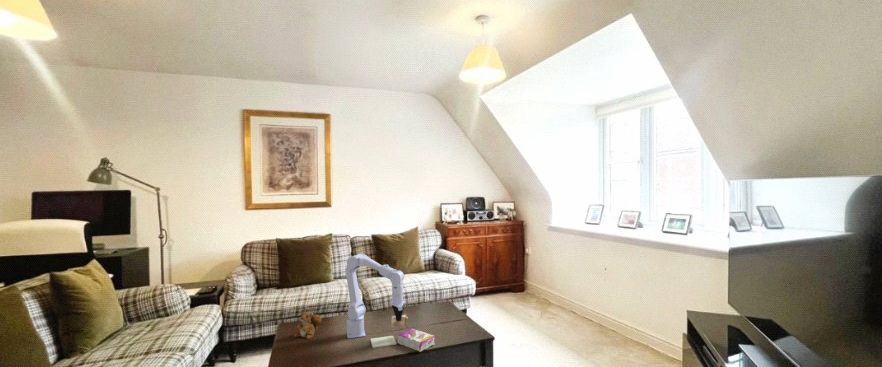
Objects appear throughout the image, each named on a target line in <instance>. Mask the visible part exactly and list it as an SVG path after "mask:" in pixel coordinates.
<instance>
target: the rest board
mask: <svg viewBox="0 0 882 367" xmlns="http://www.w3.org/2000/svg"><path fill="white" fill-rule="evenodd" d="M370 343H371V347H372V348H373V349H374V348H375V349H376V348H382V347H390V346H395V345H397V342H396V339H395V337H394V335H388V336H380V337H374V338H370Z"/></svg>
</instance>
